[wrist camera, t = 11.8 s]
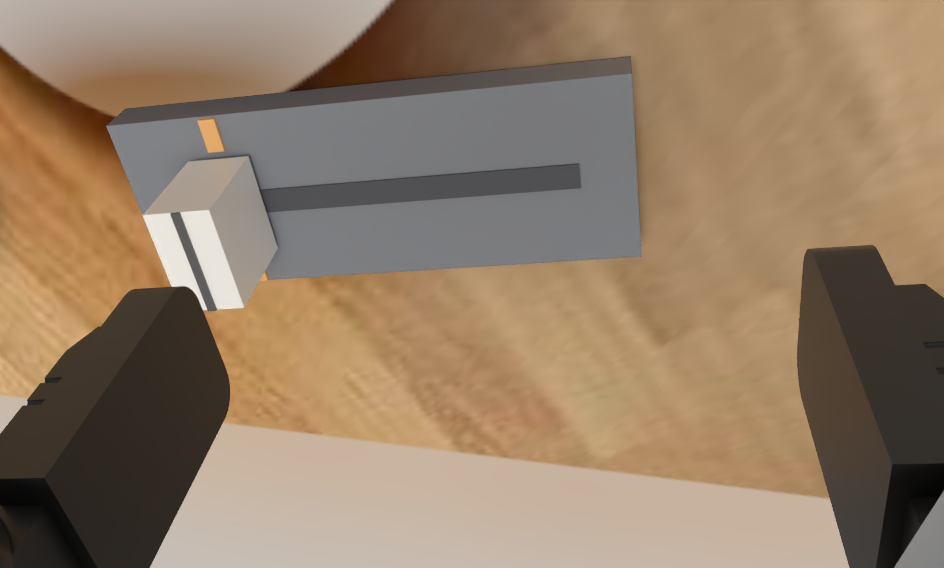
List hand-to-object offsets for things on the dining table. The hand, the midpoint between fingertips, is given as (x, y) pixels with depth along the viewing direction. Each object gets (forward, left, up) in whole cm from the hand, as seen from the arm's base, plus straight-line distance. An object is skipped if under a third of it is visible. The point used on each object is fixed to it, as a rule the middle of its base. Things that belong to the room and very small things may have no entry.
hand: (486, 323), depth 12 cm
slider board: (-5, +14, -28) cm, 32 cm away
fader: (-2, +20, -26) cm, 33 cm away
